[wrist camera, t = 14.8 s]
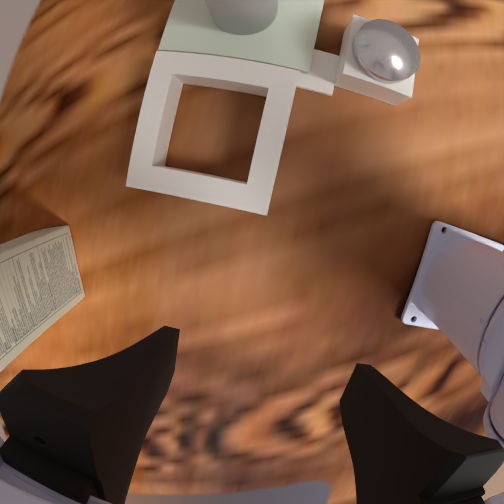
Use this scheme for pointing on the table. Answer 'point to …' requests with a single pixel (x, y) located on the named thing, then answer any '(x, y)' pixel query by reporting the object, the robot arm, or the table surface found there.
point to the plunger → (386, 51)
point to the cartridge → (243, 15)
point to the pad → (247, 46)
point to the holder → (272, 123)
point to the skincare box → (35, 287)
